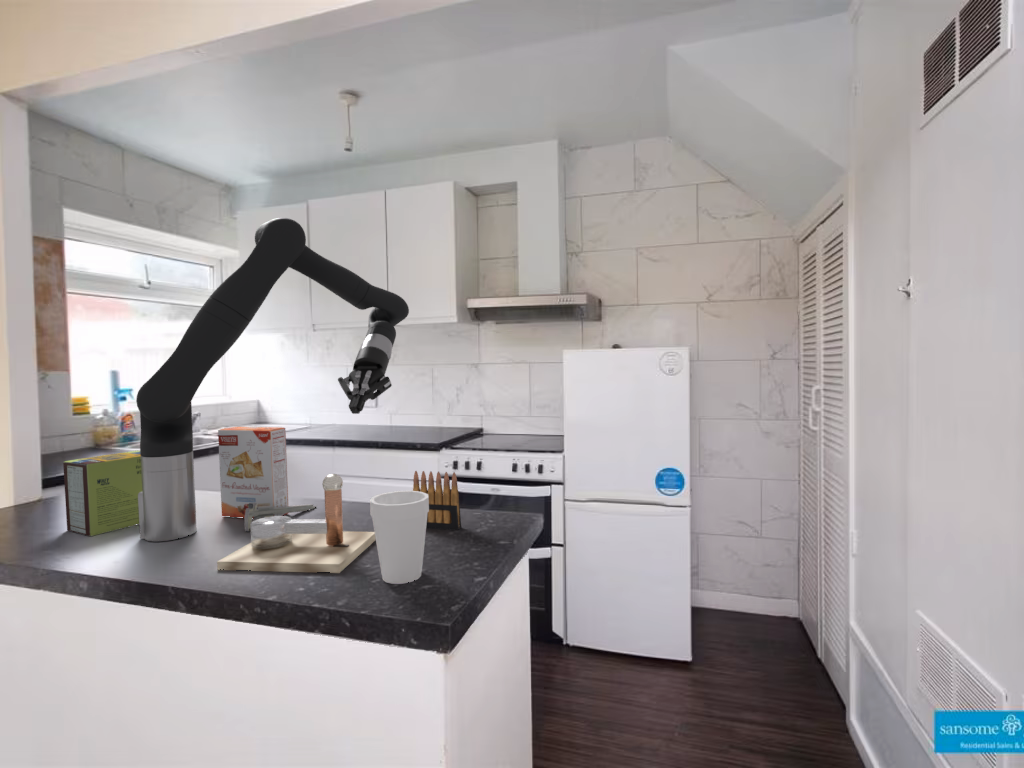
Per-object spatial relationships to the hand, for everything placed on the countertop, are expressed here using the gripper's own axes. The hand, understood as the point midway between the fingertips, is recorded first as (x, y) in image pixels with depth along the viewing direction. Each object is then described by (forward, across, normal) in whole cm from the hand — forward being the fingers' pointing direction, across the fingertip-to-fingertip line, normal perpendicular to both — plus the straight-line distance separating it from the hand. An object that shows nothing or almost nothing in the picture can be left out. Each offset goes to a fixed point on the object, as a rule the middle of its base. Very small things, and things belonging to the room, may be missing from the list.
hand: (354, 411), depth 117 cm
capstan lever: (+30, -3, +2) cm, 30 cm away
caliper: (+17, -18, +19) cm, 31 cm away
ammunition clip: (+20, +19, +16) cm, 31 cm away
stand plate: (+32, -2, +3) cm, 32 cm away
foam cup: (+38, +20, -3) cm, 43 cm away
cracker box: (+16, -26, +20) cm, 36 cm away
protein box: (+21, -55, +15) cm, 61 cm away
